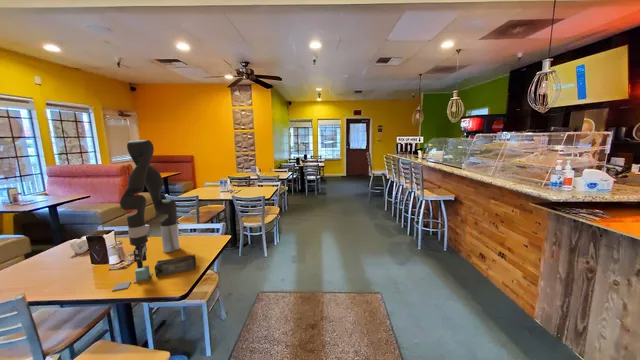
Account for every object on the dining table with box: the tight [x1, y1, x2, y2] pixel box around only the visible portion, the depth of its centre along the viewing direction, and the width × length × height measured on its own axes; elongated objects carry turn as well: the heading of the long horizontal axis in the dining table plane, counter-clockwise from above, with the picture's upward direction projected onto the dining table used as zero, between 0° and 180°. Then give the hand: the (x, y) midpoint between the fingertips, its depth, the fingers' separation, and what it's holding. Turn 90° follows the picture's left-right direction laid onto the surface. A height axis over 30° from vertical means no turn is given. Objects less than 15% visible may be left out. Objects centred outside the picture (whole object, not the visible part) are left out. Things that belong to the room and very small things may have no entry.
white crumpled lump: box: [69, 235, 89, 255], centre depth 174 cm, size 11×12×9 cm
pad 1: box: [111, 281, 131, 292], centre depth 131 cm, size 6×6×1 cm
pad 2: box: [133, 272, 153, 284], centre depth 139 cm, size 7×7×1 cm
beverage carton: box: [154, 254, 197, 278], centre depth 147 cm, size 8×19×7 cm, turn 111°
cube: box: [134, 265, 151, 281], centre depth 139 cm, size 5×5×5 cm
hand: (142, 264), depth 138 cm, fingers open, 8 cm apart
